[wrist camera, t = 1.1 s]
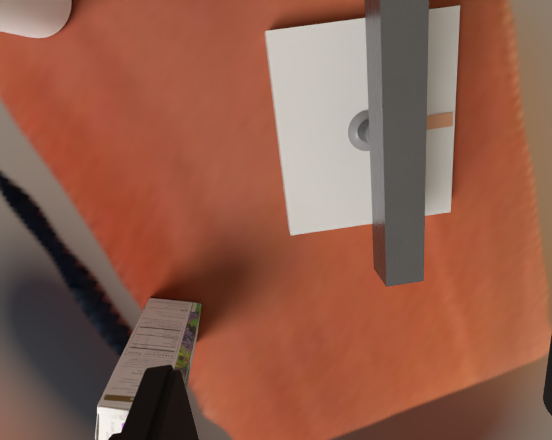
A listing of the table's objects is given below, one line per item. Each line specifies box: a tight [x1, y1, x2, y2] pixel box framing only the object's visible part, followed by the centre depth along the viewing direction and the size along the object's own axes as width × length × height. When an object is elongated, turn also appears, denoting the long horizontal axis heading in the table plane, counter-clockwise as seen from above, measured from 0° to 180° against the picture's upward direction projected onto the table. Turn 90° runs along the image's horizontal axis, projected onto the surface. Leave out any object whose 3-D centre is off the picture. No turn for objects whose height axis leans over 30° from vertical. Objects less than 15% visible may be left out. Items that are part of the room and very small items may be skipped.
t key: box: [357, 0, 429, 287], centre depth 29 cm, size 22×3×8 cm, turn 7°
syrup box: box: [95, 298, 202, 440], centre depth 34 cm, size 6×6×14 cm
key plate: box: [265, 5, 460, 235], centre depth 33 cm, size 18×16×2 cm
